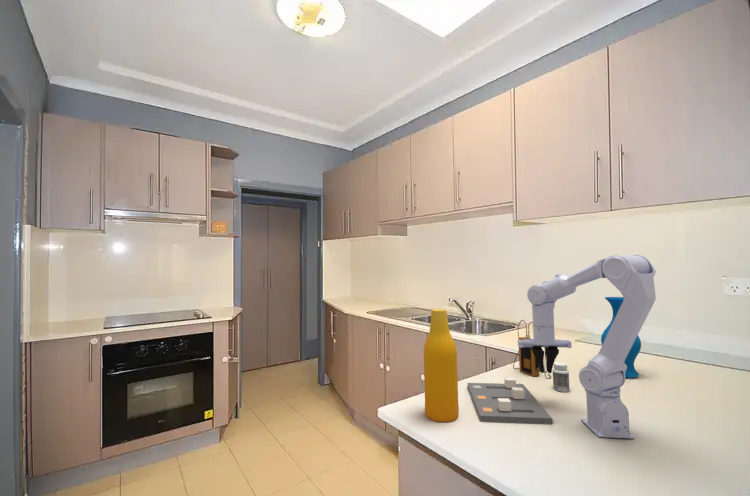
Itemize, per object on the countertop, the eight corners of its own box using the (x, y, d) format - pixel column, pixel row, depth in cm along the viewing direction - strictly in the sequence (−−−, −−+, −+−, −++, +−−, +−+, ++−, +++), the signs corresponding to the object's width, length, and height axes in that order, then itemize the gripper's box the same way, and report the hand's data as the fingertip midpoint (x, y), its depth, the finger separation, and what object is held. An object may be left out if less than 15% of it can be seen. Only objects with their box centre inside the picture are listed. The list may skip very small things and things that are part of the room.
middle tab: (524, 399, 102) (524, 390, 103) (513, 398, 103) (513, 390, 103) (522, 396, 105) (521, 387, 105) (511, 395, 105) (511, 387, 105)
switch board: (552, 424, 90) (552, 417, 90) (480, 421, 93) (480, 415, 93) (523, 388, 116) (522, 383, 116) (467, 387, 118) (467, 382, 118)
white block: (511, 411, 94) (510, 401, 94) (499, 410, 95) (499, 401, 95) (509, 407, 97) (508, 398, 97) (497, 407, 97) (497, 398, 97)
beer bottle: (463, 412, 98) (460, 308, 100) (452, 425, 90) (449, 313, 92) (432, 406, 103) (429, 307, 105) (419, 418, 95) (417, 311, 97)
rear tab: (516, 388, 111) (515, 380, 112) (506, 388, 112) (506, 380, 112) (514, 385, 114) (513, 378, 114) (504, 385, 114) (504, 377, 114)
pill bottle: (571, 392, 112) (570, 366, 112) (555, 391, 113) (554, 365, 113) (566, 387, 116) (565, 362, 117) (551, 386, 117) (550, 361, 118)
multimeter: (562, 376, 128) (560, 321, 129) (542, 380, 124) (539, 323, 125) (531, 366, 141) (529, 316, 142) (512, 369, 138) (510, 318, 139)
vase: (610, 378, 124) (606, 299, 125) (597, 368, 136) (593, 296, 138) (650, 380, 121) (645, 299, 123) (632, 370, 133) (628, 296, 135)
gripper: (563, 323, 107) (565, 368, 106) (514, 323, 109) (516, 367, 108) (573, 327, 100) (576, 375, 99) (520, 327, 102) (522, 374, 101)
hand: (545, 372), depth 103 cm, fingers closed
